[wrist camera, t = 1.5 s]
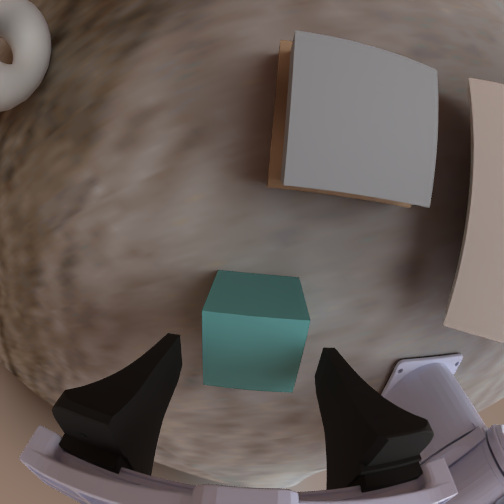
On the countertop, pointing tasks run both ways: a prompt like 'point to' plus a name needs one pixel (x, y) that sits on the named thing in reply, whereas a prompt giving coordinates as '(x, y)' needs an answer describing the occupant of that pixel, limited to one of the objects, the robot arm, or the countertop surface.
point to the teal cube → (253, 331)
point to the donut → (22, 51)
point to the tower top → (359, 120)
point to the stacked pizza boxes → (482, 222)
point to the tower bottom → (279, 130)
